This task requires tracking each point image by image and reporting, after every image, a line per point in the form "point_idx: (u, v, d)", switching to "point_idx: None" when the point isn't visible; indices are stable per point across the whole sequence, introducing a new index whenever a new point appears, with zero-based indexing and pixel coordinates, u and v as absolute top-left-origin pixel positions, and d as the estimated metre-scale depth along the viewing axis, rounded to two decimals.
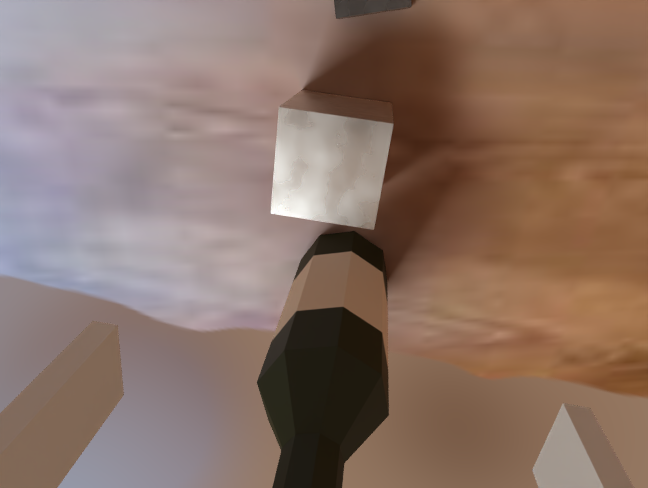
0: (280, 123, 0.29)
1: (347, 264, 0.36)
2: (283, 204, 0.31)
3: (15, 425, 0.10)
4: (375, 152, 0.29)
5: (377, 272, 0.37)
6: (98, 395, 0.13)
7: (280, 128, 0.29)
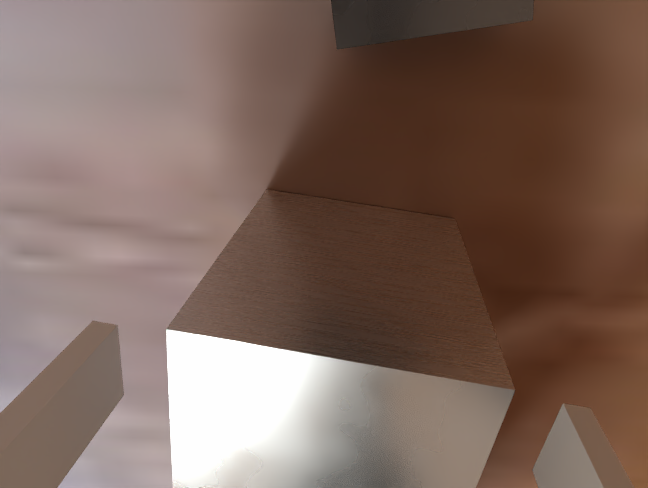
0: (175, 367, 0.10)
1: None
2: None
3: (15, 425, 0.10)
4: (450, 449, 0.10)
5: None
6: (98, 395, 0.13)
7: (177, 378, 0.10)
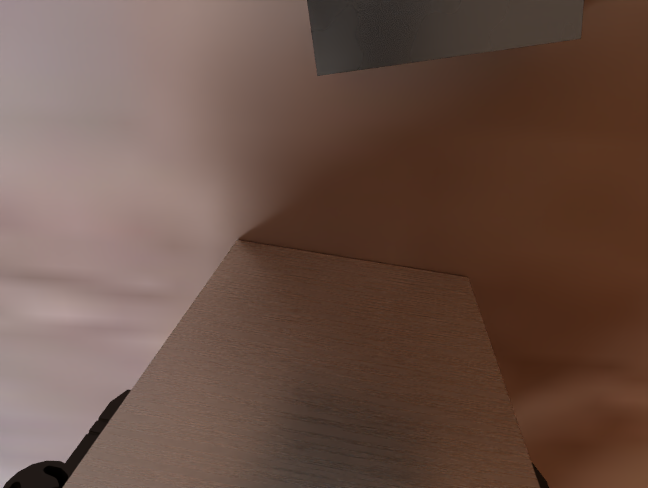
0: None
1: None
2: None
3: None
4: None
5: None
6: None
7: None
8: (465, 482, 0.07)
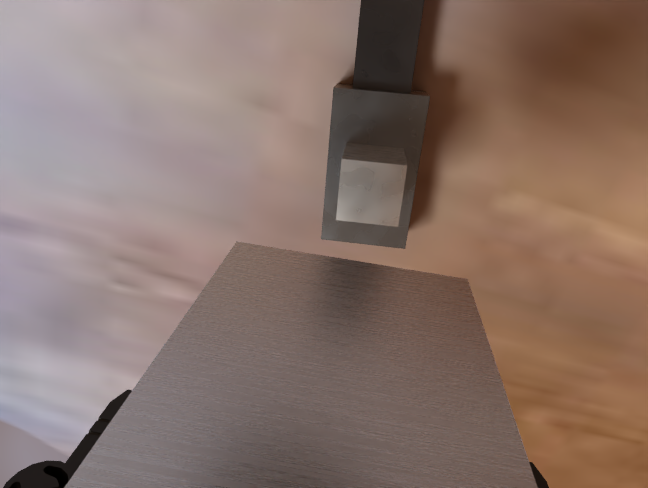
0: None
1: None
2: None
3: None
4: None
5: None
6: None
7: None
8: (464, 485, 0.07)
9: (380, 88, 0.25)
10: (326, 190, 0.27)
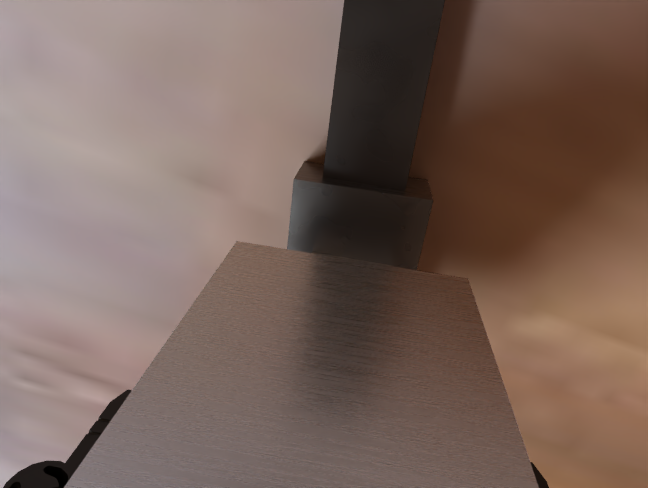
0: None
1: None
2: None
3: None
4: None
5: None
6: None
7: None
8: (465, 485, 0.07)
9: (362, 181, 0.18)
10: None
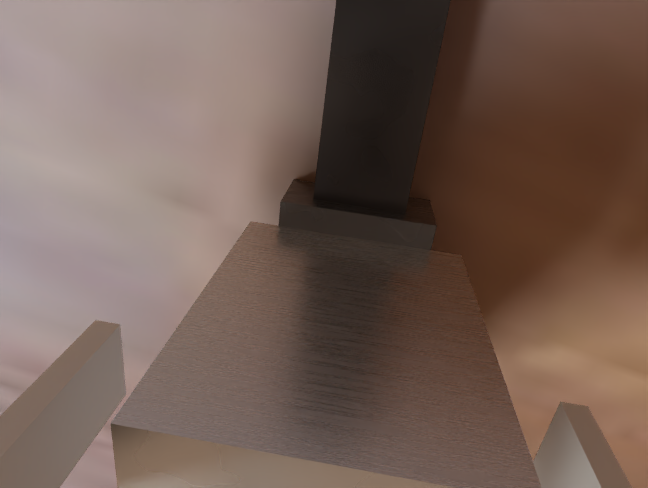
0: (124, 466, 0.08)
1: None
2: None
3: (19, 424, 0.10)
4: None
5: None
6: (101, 394, 0.13)
7: (127, 478, 0.08)
8: (454, 412, 0.09)
9: (357, 203, 0.16)
10: None
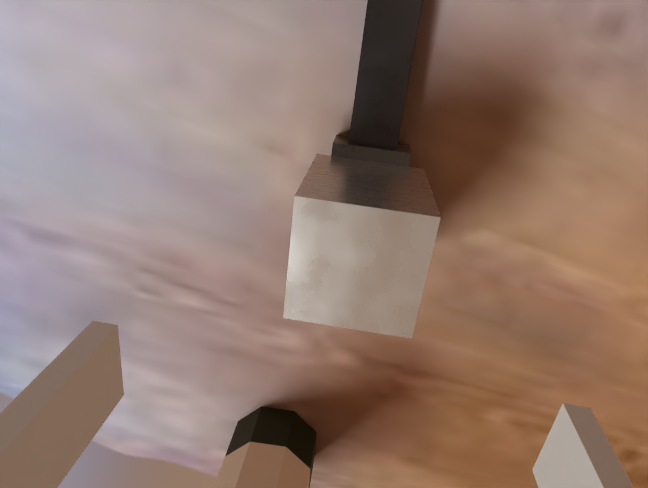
0: (296, 215, 0.23)
1: (278, 470, 0.38)
2: (299, 308, 0.25)
3: (15, 425, 0.10)
4: (416, 250, 0.23)
5: (305, 472, 0.40)
6: (98, 395, 0.13)
7: (296, 221, 0.23)
8: (413, 202, 0.24)
9: (371, 144, 0.31)
10: None
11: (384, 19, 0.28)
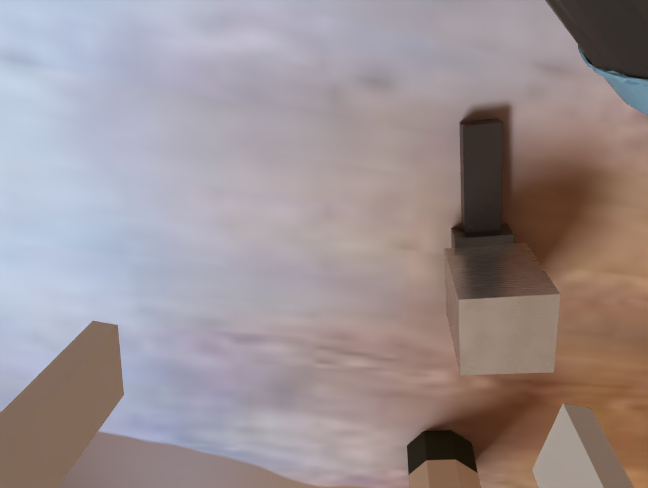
0: (461, 310, 0.35)
1: (457, 478, 0.49)
2: (470, 367, 0.37)
3: (15, 425, 0.10)
4: (546, 316, 0.34)
5: (475, 476, 0.51)
6: (98, 395, 0.13)
7: (461, 314, 0.35)
8: (535, 283, 0.35)
9: (481, 232, 0.42)
10: None
11: (477, 153, 0.40)
